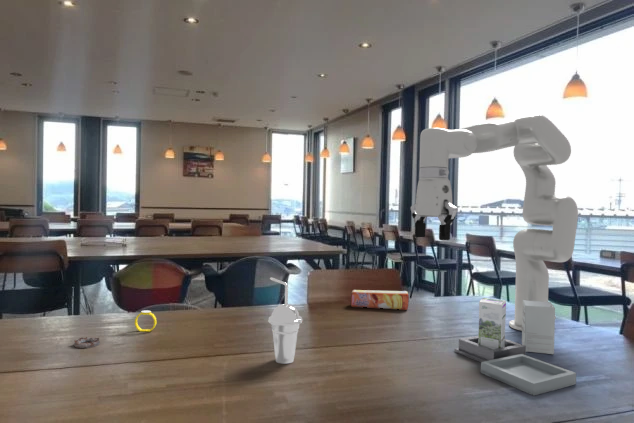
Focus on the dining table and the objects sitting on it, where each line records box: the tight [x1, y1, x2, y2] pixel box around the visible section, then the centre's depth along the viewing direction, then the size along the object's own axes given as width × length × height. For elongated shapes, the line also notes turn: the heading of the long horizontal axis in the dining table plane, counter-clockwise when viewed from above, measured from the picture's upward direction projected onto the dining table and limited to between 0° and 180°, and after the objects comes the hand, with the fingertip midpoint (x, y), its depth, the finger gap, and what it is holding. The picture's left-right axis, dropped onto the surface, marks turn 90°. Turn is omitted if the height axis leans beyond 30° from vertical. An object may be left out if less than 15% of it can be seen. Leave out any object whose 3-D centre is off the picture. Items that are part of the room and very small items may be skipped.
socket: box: [453, 335, 527, 363], centre depth 120 cm, size 13×13×4 cm
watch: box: [134, 309, 158, 333], centre depth 136 cm, size 6×3×6 cm, turn 93°
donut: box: [73, 336, 101, 349], centre depth 123 cm, size 8×8×2 cm
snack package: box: [350, 289, 410, 311], centre depth 172 cm, size 21×7×7 cm, turn 80°
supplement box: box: [521, 300, 556, 355], centre depth 126 cm, size 7×7×13 cm
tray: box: [480, 354, 577, 397], centre depth 105 cm, size 14×14×2 cm
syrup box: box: [477, 297, 507, 349], centre depth 120 cm, size 6×6×14 cm
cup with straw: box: [267, 276, 304, 365], centre depth 113 cm, size 8×9×20 cm
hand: (431, 238), depth 124 cm, fingers open, 9 cm apart
